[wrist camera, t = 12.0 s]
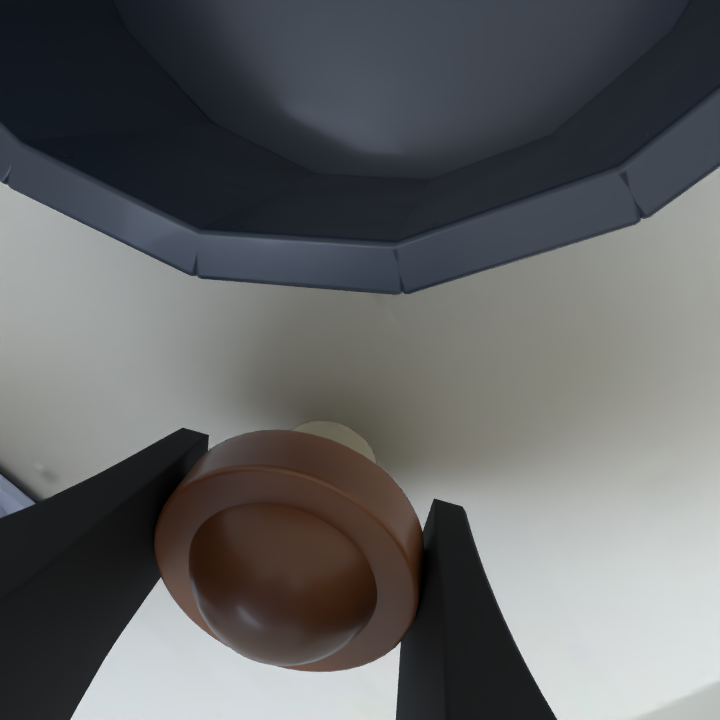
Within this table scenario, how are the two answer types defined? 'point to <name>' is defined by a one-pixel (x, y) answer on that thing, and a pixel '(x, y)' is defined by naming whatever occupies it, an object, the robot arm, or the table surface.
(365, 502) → the mushroom
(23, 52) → the pan
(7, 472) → the table surface
